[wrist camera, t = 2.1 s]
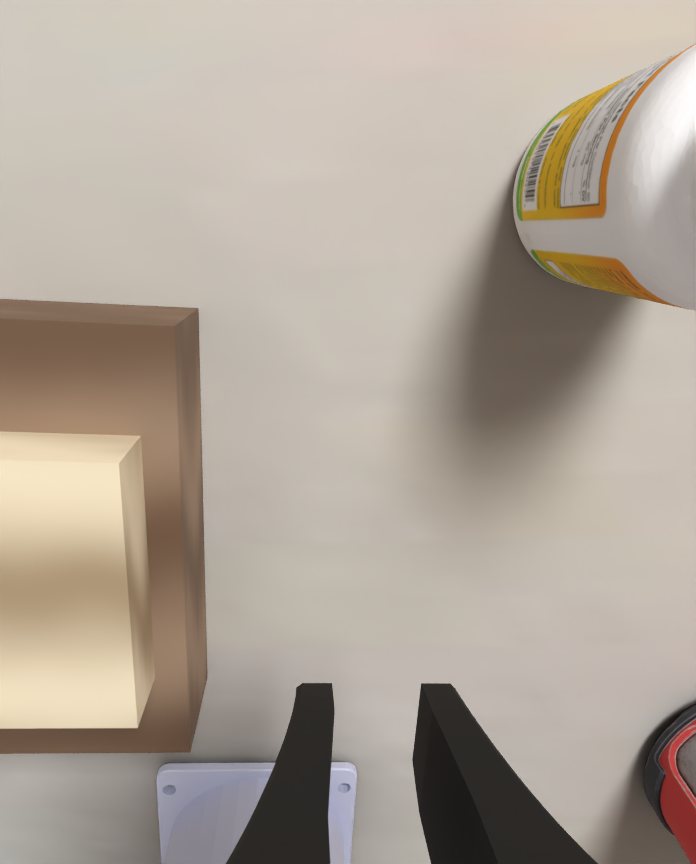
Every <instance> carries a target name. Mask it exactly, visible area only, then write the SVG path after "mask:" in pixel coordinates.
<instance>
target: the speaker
mask: <svg viewBox="0 0 696 864" xmlns="http://www.w3.org/2000/svg"><path fill="white" fill-rule="evenodd" d="M644 787H645V792H646V795H647V797H648V800H649V801H650V803H651V805H652V807H653V808H654V810H655V812H656V814H657V815H658V817H659V819H660V820H661V822H662V823H663V825H664V826H665V827H666V828H667V829H668V830H669V831H670V832H671V833H672V834H673V835H675V837H676V839H677V840H678V842H679V844H680V845H681V847H682V849H683V850H684V852H685V854H686V855H687V857H688V859H689V860H690V862H691V864H696V704H695V705H693V706H691V707H690V708H688V709H687V710H685V711H684V712H682V713H681V715H680V716H679V717H678V718H677V719H676V720H675V721H674V722H672V723H671V724H670V725H669V726H668V727H667V729H666V730H665V731H664V732H663V733H662V734H661V736H660V737H658V739H657V741H656V743H655V744H654V746H653V748H652V750H651V752H650V754H649V756H648V759H647V762H646V765H645V770H644Z"/></svg>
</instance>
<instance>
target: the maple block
mask: <svg viewBox="0 0 696 864" xmlns="http://www.w3.org/2000/svg"><path fill="white" fill-rule="evenodd" d="M154 679H155V670H154V653H153V636H152V619H151V602H150V584H149V567H148V550H147V533H146V515H145V498H144V481H143V464H142V447H141V436H128V435H96V434H64V433H32V432H0V729H35V728H138V726H139V723H140V720H141V717H142V714H143V711H144V708H145V705H146V703H147V700H148V697H149V694H150V691H151V688H152V685H153V682H154Z"/></svg>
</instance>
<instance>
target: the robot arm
mask: <svg viewBox="0 0 696 864" xmlns="http://www.w3.org/2000/svg"><path fill="white" fill-rule="evenodd" d="M333 726H334V700H333V690H332V683H302V684H301V685H300V686H298V687H297V688H296V698H295V703H294V708H293V712H292V716H291V720H290V723H289V726H288V729H287V732H286V736H285V739H284V741H283V744H282V747H281V749H280V752H279V755H278V757H277V760H276V763H170V764H165V765H163V766H161V767H160V768H159V770H158V774H157V778H156V786H157V802H158V818H159V835H160V851H161V864H350V862H351V849H352V836H353V823H354V810H355V797H356V784H357V772H356V767H355V766H354V765H353V764H351V763H348V762H331V759H332V742H333ZM413 768H414V776H415V784H416V792H417V799H418V806H419V813H420V817H421V822H422V826H423V831H424V835H425V839H426V843H427V847H428V852H429V856H430V860H431V864H598V863H597V862H596V861H595V860H593V859H592V858H591V857H590V856H589V855H588V854H587V853H586V852H585V851H584V850H583V849H582V848H581V847H580V846H579V845H578V843H577V842H576V841H575V840H574V839H573V838H572V837H571V836H570V835H569V834H568V833H567V832H566V831H565V830H564V829H563V828H562V827H561V826H560V825H559V824H558V822H557V821H556V820H555V819H554V818H553V817H552V816H551V815H550V814H549V812H548V811H547V810H546V809H545V808H544V807H543V806H542V804H541V803H540V802H539V801H538V800H537V799H536V797H535V796H534V795H533V794H532V793H531V792H530V790H529V789H528V788H527V787H526V786H525V784H524V783H523V782H522V781H521V779H520V778H519V777H518V776H517V774H516V773H515V772H514V771H513V769H512V768H511V767H510V765H509V764H508V763H507V762H506V760H505V759H504V758H503V756H502V755H501V754H500V752H499V751H498V750H497V749H496V747H495V746H494V745H493V743H492V742H491V740H490V739H489V738H488V736H487V735H486V734H485V732H484V731H483V729H482V728H481V726H480V725H479V724H478V722H477V721H476V719H475V718H474V716H473V715H472V714H471V712H470V711H469V709H468V708H467V706H466V705H465V703H464V702H463V700H462V699H461V697H460V696H459V694H458V693H457V691H456V689H455V688H454V687H453V686H452V685H451V684H421V691H420V700H419V708H418V717H417V726H416V734H415V743H414V752H413ZM343 783H346V784H344V785H342V784H343ZM168 785H172V786H168Z"/></svg>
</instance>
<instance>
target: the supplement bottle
mask: <svg viewBox="0 0 696 864" xmlns="http://www.w3.org/2000/svg"><path fill="white" fill-rule="evenodd" d="M513 213H514V220H515V224H516V228H517V231H518V234H519V237H520V239H521V241H522V243H523V245H524V247H525V249H526V250H527V252H528V253H529V255H530V256H531V257H532V258H533V259H534V260H535V261H536V263H537V264H538V265H539V266H541V267H542V268H543V269H544V270H545V271H547V272H548V273H550V274H551V275H553V276H555V277H557V278H559V279H561V280H563V281H566V282H569V283H573V284H576V285H580V286H585V287H589V288H593V289H599V290H604V291H609V292H614V293H618V294H623V295H627V296H631V297H636V298H639V299H645V300H650V301H654V302H658V303H662V304H667V305H672V306H676V307H680V308H685V309H691V310H696V44H694V45H692V46H690V47H689V48H687V49H685V50H682V51H680V52H679V53H677V54H675V55H672V56H670V57H668V58H666V59H664V60H662V61H660V62H658V63H656V64H653V65H651V66H649V67H647V68H645V69H643V70H640V71H638V72H636V73H634V74H632V75H630V76H628V77H625V78H624V79H621V80H619V81H617V82H615V83H613V84H611V85H608V86H607V87H604V88H602V89H600V90H598V91H596V92H594V93H592V94H590V95H587V96H585V97H583V98H581V99H579V100H577V101H576V102H574V103H572V104H570V105H568V106H567V107H565V108H564V109H562V110H561V111H559V112H558V113H557V114H556V115H554V116H553V117H552V118H551V119H550V120H549V121H548V122H547V123H546V124H545V125H544V126H543V127H542V128H541V129H540V131H539V132H538V133H537V134H536V136H535V137H534V138H533V140H532V142H531V143H530V145H529V146H528V148H527V150H526V152H525V154H524V156H523V158H522V160H521V163H520V165H519V168H518V172H517V175H516V179H515V184H514V191H513Z"/></svg>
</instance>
